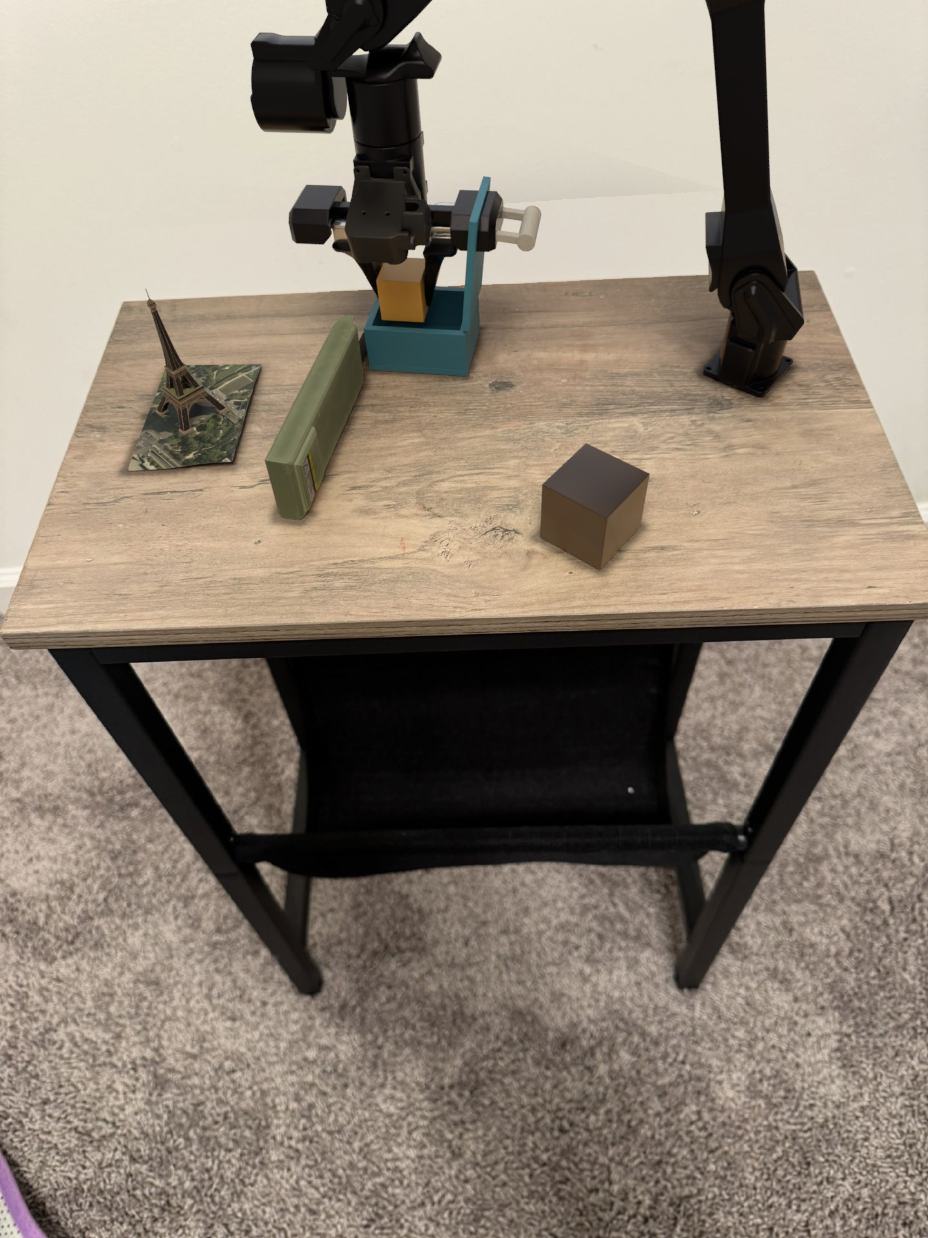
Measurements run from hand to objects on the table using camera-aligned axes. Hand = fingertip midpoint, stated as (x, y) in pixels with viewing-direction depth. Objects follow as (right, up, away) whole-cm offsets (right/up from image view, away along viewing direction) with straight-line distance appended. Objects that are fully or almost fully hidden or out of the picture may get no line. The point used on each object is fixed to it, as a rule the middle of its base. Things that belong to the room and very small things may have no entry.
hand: (406, 302), depth 81 cm
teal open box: (+2, -3, +4) cm, 5 cm away
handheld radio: (-7, -13, -2) cm, 15 cm away
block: (0, 0, 0) cm, 1 cm away
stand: (+16, -24, -12) cm, 31 cm away
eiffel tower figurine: (-20, -11, -1) cm, 23 cm away
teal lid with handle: (+6, +2, -5) cm, 9 cm away
